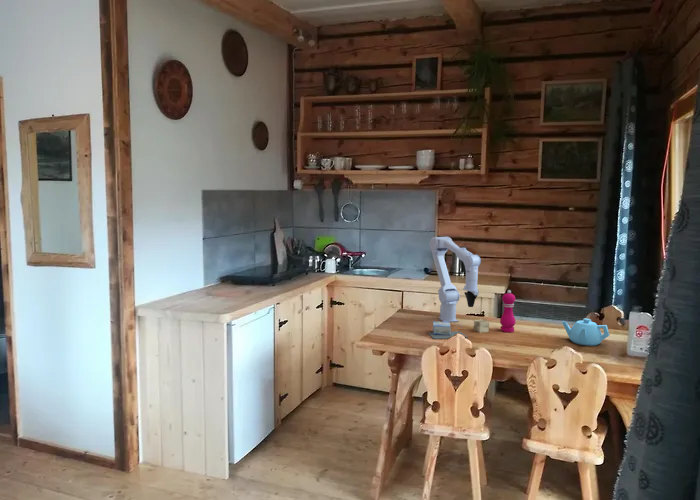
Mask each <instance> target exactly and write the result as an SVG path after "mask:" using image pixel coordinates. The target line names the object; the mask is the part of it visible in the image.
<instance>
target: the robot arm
mask: <svg viewBox="0 0 700 500" xmlns="http://www.w3.org/2000/svg"><path fill="white" fill-rule="evenodd" d="M429 247H430V251H431V255H432V258H433V262H434V266H435V269H436V274H437V276H438V278H439V283H440V287H439V289H438V290H437V292H438V300H439V302H440V305H439V316H438V317H437V318H438V319H439V320H441V322H449V323H453V322H459V320H458V319H457V316H456V315H457V313H456V312H457V304H458V302H459V300H460V296H461V294H460V293H459V291H458V289H457V287H456V285H454V284H452V281H451V278H450V274H449V271H448V268H447V267H448V266H447V265H446V261H445V257H444V255H445V254H446V253H447V251H448V250H449V251H451V252H452V253H454V254H455V256H456V258H458V260H460V261H462V262H463V265H464V269H465V270H464V271H465V284H464V285H463V286H464V287H463V288H462V290H463V291H465V292H464V295H465V298H466V301H467V306H468V308H473V307H474V305H475V302H476V300H477V297H478V296H479V295H480V294H479V289H478V278H479V276H478V275H479V266H480V265H481V263H482V260H481V257H480V255H478V254H473V252H470V251H469V250H467V247H460V246H458V245H457V243H456V242H454V241H453V239H452V238H451V237H449V236H448V235H446V236H445V235H444V236H432V237H431V239H430V241H429Z"/></svg>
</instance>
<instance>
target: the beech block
mask: <svg viewBox="0 0 700 500" xmlns="http://www.w3.org/2000/svg"><path fill="white" fill-rule="evenodd" d="M489 327H490V321H487V320H485V319H474V320H473V331H474V332H477V333H480V334H482V332H483V333H489V331H490V330H489V329H490V328H489Z"/></svg>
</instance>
